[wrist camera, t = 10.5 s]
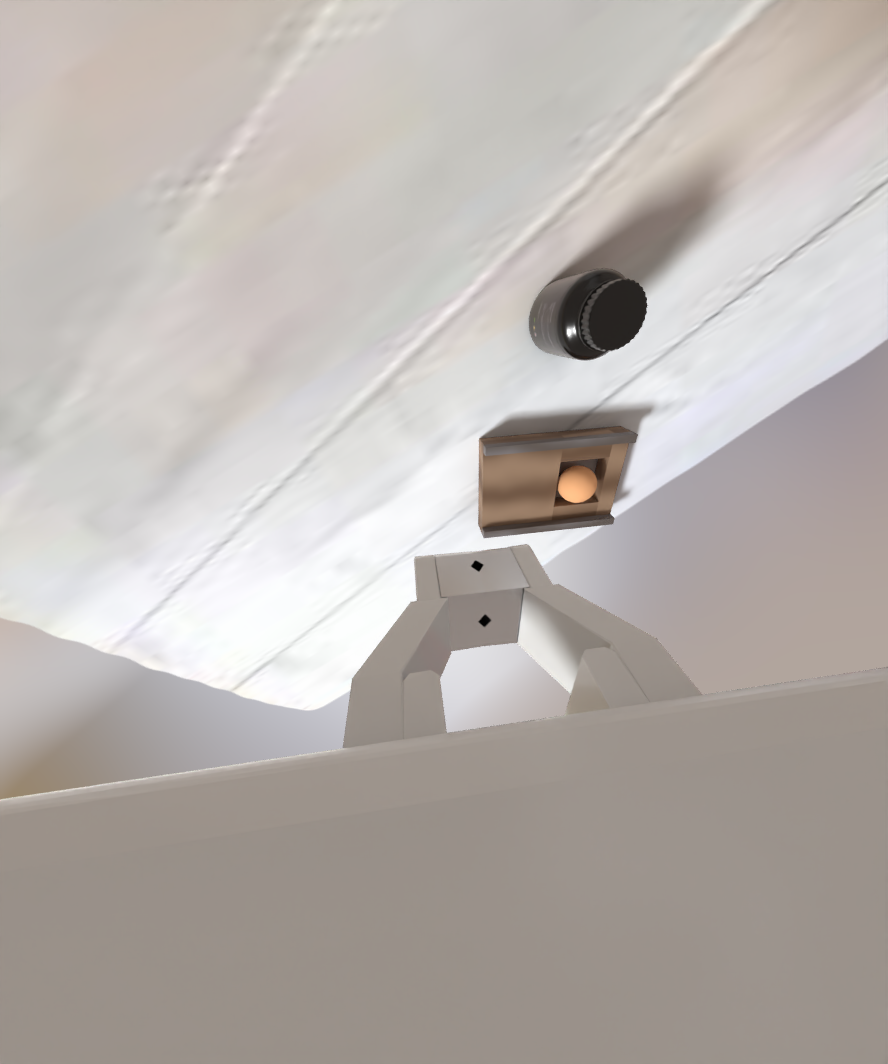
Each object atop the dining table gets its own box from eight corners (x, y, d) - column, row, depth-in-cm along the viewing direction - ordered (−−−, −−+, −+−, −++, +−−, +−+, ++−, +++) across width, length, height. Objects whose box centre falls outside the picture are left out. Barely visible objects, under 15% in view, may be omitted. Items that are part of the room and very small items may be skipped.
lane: (479, 438, 42) (485, 448, 39) (620, 426, 43) (637, 434, 40) (478, 524, 49) (483, 538, 46) (599, 511, 50) (612, 524, 47)
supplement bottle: (587, 268, 33) (667, 247, 23) (588, 342, 37) (658, 351, 27) (522, 290, 34) (574, 277, 24) (530, 361, 38) (577, 376, 28)
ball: (601, 461, 44) (562, 459, 46) (598, 474, 40) (555, 471, 42) (595, 496, 46) (559, 492, 48) (592, 511, 43) (552, 506, 45)
